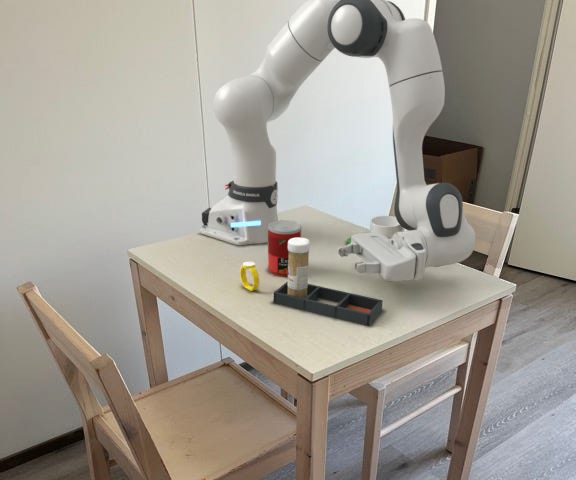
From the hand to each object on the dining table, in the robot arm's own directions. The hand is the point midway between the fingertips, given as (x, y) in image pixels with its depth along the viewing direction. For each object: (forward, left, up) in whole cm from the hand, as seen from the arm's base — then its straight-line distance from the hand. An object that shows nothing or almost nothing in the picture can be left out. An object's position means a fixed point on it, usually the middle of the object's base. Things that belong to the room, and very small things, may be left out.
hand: (347, 259), depth 129 cm
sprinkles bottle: (-8, -8, -8) cm, 14 cm away
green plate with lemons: (-8, +31, -8) cm, 33 cm away
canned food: (-18, +5, -8) cm, 20 cm away
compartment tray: (-1, -8, -8) cm, 11 cm away
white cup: (+1, +23, -8) cm, 24 cm away
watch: (-20, -8, -8) cm, 23 cm away
